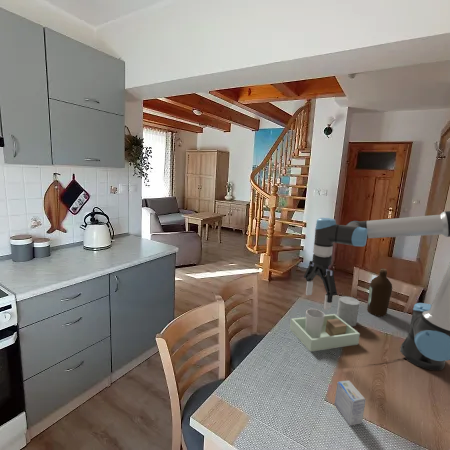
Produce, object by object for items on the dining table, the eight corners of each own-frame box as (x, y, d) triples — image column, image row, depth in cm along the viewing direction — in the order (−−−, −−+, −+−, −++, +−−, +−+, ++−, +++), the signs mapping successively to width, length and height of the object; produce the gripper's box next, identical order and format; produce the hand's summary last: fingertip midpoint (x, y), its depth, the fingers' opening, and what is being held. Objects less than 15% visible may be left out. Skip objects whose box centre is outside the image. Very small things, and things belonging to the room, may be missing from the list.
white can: (358, 329, 134) (362, 306, 132) (337, 326, 136) (341, 303, 133) (353, 319, 143) (356, 297, 141) (334, 316, 145) (337, 294, 143)
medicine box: (362, 424, 83) (366, 399, 81) (349, 426, 82) (353, 401, 80) (345, 402, 90) (349, 379, 88) (333, 404, 89) (337, 381, 87)
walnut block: (344, 337, 125) (346, 325, 124) (333, 339, 123) (335, 327, 122) (336, 330, 131) (337, 318, 130) (325, 331, 129) (326, 320, 128)
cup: (322, 335, 126) (325, 311, 123) (320, 345, 118) (324, 319, 116) (304, 330, 129) (307, 307, 127) (301, 339, 122) (304, 314, 119)
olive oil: (387, 311, 154) (395, 268, 149) (387, 319, 145) (395, 274, 140) (366, 305, 159) (373, 264, 154) (365, 313, 150) (371, 269, 145)
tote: (357, 345, 121) (359, 333, 120) (310, 353, 114) (311, 340, 113) (333, 324, 137) (334, 313, 136) (289, 330, 130) (291, 318, 129)
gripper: (350, 263, 105) (344, 314, 109) (313, 246, 129) (308, 289, 133) (333, 264, 103) (327, 316, 107) (298, 247, 127) (295, 290, 131)
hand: (317, 301), depth 120 cm, fingers open, 13 cm apart
